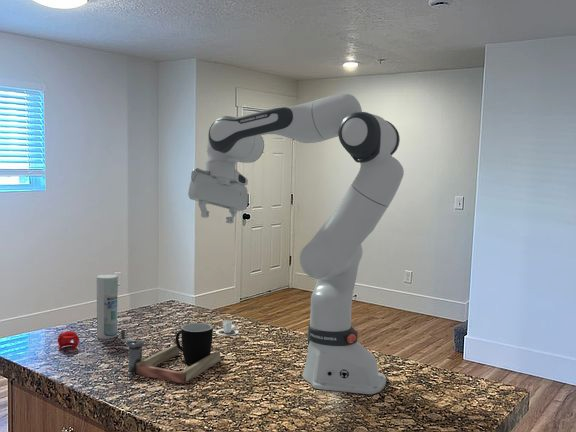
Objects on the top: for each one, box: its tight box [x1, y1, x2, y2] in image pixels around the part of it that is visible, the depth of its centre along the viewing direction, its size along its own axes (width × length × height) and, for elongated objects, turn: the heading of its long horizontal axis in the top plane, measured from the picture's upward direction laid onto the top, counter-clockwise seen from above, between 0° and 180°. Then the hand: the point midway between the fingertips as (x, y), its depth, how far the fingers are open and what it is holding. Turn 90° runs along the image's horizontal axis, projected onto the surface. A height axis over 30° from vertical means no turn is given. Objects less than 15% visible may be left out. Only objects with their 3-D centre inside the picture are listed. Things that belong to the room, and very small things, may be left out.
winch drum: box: [120, 329, 145, 373], centre depth 149 cm, size 7×5×11 cm, turn 68°
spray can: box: [96, 274, 119, 340], centre depth 178 cm, size 6×6×20 cm
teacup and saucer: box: [215, 320, 239, 337], centre depth 187 cm, size 9×8×4 cm
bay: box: [135, 343, 221, 385], centre depth 152 cm, size 15×19×3 cm
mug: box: [175, 322, 214, 366], centre depth 158 cm, size 12×9×10 cm
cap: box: [57, 330, 80, 350], centre depth 165 cm, size 7×6×6 cm
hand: (217, 220), depth 159 cm, fingers open, 8 cm apart
